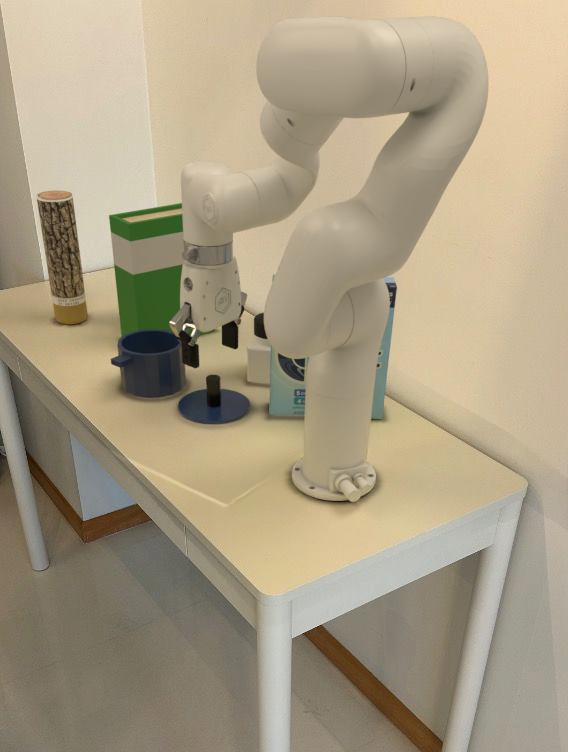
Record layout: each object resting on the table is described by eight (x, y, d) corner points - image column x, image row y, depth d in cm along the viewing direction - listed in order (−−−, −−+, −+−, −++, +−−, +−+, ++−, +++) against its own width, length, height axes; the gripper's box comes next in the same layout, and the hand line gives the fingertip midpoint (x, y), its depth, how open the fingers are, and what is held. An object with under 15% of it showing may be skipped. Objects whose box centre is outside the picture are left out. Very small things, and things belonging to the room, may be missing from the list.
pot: (208, 379, 148) (207, 335, 143) (143, 412, 137) (138, 366, 132) (164, 362, 154) (161, 320, 148) (97, 393, 143) (92, 347, 138)
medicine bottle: (285, 388, 146) (286, 324, 138) (246, 384, 147) (246, 320, 139) (292, 371, 151) (294, 309, 144) (255, 368, 152) (255, 306, 145)
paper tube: (94, 318, 171) (79, 193, 156) (72, 328, 166) (54, 201, 152) (71, 311, 174) (54, 188, 159) (48, 321, 169) (28, 195, 155)
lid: (264, 407, 139) (265, 375, 136) (217, 434, 131) (216, 401, 128) (211, 387, 145) (210, 356, 142) (163, 412, 137) (160, 379, 134)
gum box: (269, 418, 136) (270, 284, 123) (269, 404, 140) (271, 273, 127) (383, 420, 136) (397, 286, 123) (380, 406, 140) (394, 275, 127)
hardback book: (195, 320, 171) (190, 201, 157) (214, 331, 166) (211, 209, 152) (121, 338, 162) (108, 215, 148) (140, 351, 158) (128, 224, 143)
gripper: (187, 271, 115) (191, 380, 125) (263, 243, 126) (261, 346, 136) (150, 259, 119) (157, 366, 129) (226, 233, 130) (227, 334, 140)
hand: (210, 356), depth 133 cm, fingers open, 9 cm apart
